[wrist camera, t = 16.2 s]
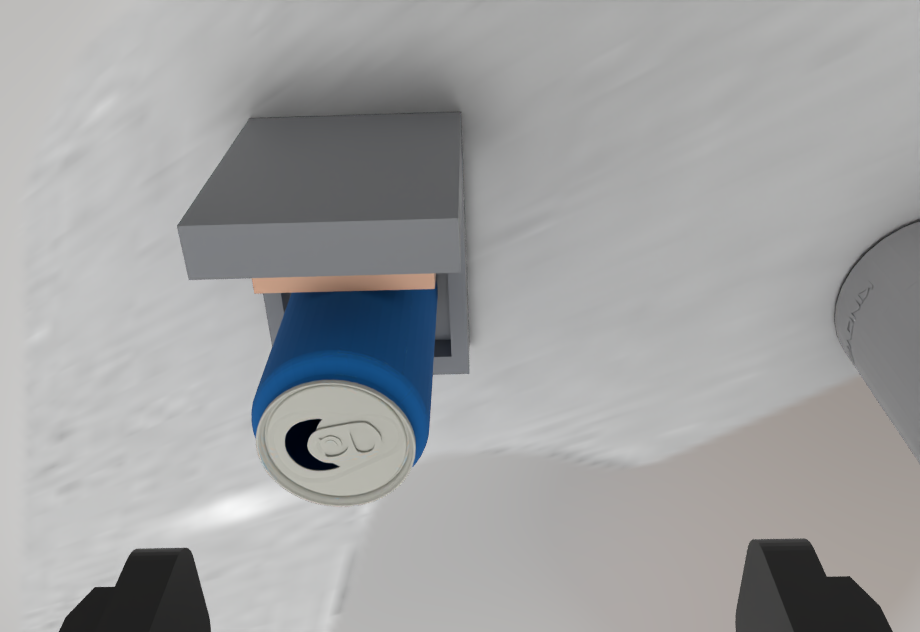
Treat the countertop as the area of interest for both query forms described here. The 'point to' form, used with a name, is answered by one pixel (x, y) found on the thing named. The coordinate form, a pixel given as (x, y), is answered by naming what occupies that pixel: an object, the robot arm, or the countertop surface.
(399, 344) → the beverage can
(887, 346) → the robot arm
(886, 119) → the countertop surface
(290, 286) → the thin tan plate
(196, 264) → the grey bracket
